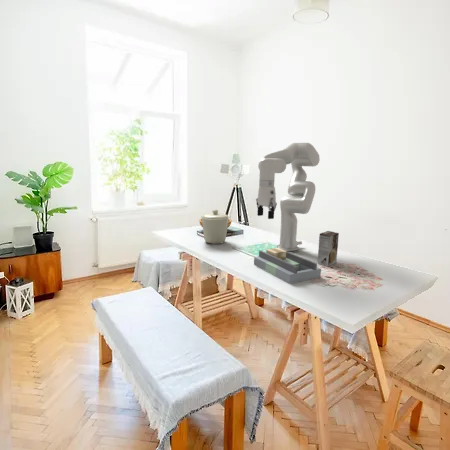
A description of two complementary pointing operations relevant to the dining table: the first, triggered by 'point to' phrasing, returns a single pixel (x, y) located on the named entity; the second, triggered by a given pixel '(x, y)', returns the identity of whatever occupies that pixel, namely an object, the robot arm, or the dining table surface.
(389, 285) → the dining table surface
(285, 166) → the robot arm
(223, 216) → the canister
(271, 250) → the maple block
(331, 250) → the coffee box
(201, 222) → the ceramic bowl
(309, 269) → the lane deck
